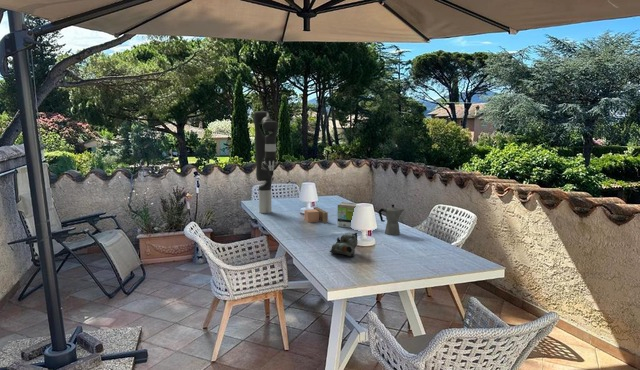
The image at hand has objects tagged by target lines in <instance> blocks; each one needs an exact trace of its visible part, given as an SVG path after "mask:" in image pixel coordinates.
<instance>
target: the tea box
mask: <svg viewBox="0 0 640 370" xmlns="http://www.w3.org/2000/svg"><path fill="white" fill-rule="evenodd" d="M356 204H359V203H358V202H357V203H356V202H344V201H343V202H341V203H339V204H337V217H336V218H337V219H336V220H337V227H343V228H350V229H352V228H351V227H350V226H351V220H352V216H353V212H354V208H355V207H356Z"/></svg>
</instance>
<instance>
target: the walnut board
mask: <svg viewBox="0 0 640 370" xmlns="http://www.w3.org/2000/svg"><path fill="white" fill-rule="evenodd" d="M313 209H316V210H317V211H319V221H318V222H321V223H322V224H326V223H328V222H329V221H328V219H329V218H328V217H329V216H328V215H329V213H328V212H327V211H326V210H324V209H323V208H320V207H318V206H314V207H313Z"/></svg>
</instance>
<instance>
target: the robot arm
mask: <svg viewBox="0 0 640 370" xmlns="http://www.w3.org/2000/svg"><path fill="white" fill-rule="evenodd" d="M253 123H254V133H255V136H254V137H255V141H254V142H255V157H256V158H255V159H256V166H255V167H256V169H255V176H256V180H257V181H258V182H264V183H262V184H260V185H259V186H258V208H259V209H258V212H259V213H260V214H271V213H272V212H273V211H272V208H273V207H272V177H273V176H274V172H275V170H277V169H278V167H279V165H281V162H280V161H278V158H277V145H276V144H277V142H276V141H277V137H276V136H277V132H278V129H279V123H278V121H276V120H272V119H271V116H270V113H269V112H268V111H266V110H265V111H264V110H257V111H256V110H255V111H254V112H253ZM260 125H261V126H262V127H261V128H260ZM261 129H262V130H263V131H262V130H261ZM263 132H271V133H270V134H267V135H264V133H263ZM262 166H263V167H264V168H263V167H262Z"/></svg>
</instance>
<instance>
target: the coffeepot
mask: <svg viewBox="0 0 640 370" xmlns="http://www.w3.org/2000/svg"><path fill="white" fill-rule="evenodd" d="M382 212H383V213H385V219H386V220H384V217H383V213H382ZM403 212H404V209H402V208H397V207H395V204H391V207H387V208H385V207H384V208H379V210H378V211H377V213H378V216H379V218H380V221H381V222H383V223H385V221H386V225H385V231H384V234H385V235H388V236H399V235H400V233H401V232H400V231H401V230H400V225H399V220H400V216H401V215H402V213H403Z"/></svg>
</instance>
